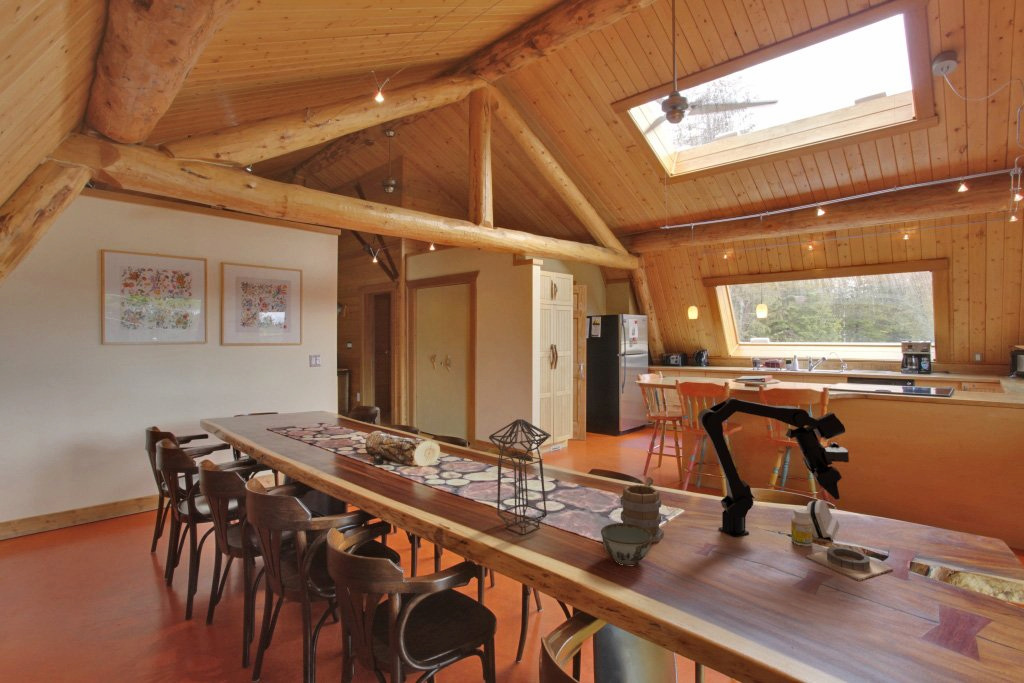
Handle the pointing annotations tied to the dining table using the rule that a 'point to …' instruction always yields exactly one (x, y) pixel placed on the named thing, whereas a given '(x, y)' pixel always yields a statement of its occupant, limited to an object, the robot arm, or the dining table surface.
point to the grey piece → (822, 519)
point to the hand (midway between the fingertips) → (833, 493)
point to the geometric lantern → (528, 428)
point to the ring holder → (849, 562)
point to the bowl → (626, 542)
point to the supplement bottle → (801, 527)
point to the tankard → (642, 508)
